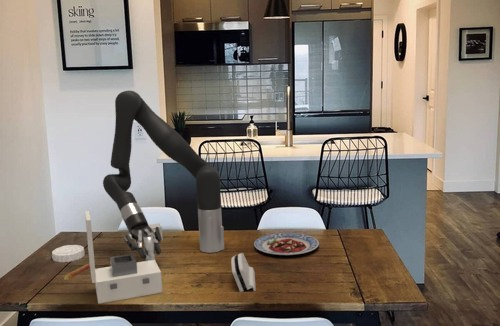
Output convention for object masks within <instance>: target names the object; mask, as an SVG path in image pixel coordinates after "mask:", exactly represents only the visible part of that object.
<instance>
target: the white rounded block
mask: <svg viewBox="0 0 500 326" xmlns="http://www.w3.org/2000/svg"><path fill="white" fill-rule="evenodd" d="M230 263H231V265H230V266H231V272H232V275H233V277H234V279H235V283H236V285H237V288H238V291H239V293H241V292H244V291H245V289H246V290H250V289H252V290H253V292H256V273H255V270H254V269H255V268H254V267H252V266H250V265H249V263H248V261H247V259H246V256H245V255H244V252H241V253H238V254H235V255H233V256H232V257H231V261H230Z"/></svg>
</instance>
